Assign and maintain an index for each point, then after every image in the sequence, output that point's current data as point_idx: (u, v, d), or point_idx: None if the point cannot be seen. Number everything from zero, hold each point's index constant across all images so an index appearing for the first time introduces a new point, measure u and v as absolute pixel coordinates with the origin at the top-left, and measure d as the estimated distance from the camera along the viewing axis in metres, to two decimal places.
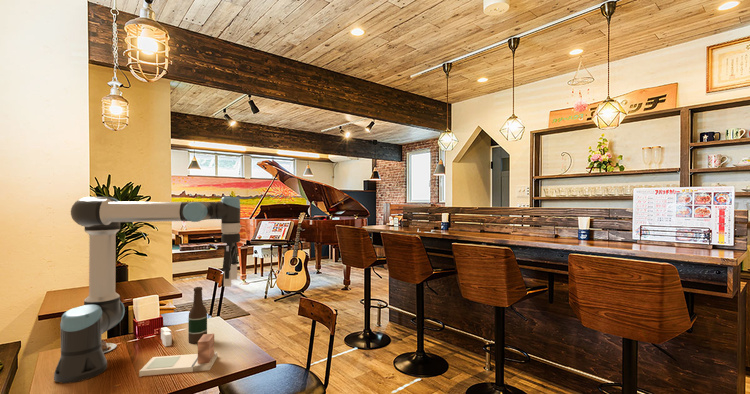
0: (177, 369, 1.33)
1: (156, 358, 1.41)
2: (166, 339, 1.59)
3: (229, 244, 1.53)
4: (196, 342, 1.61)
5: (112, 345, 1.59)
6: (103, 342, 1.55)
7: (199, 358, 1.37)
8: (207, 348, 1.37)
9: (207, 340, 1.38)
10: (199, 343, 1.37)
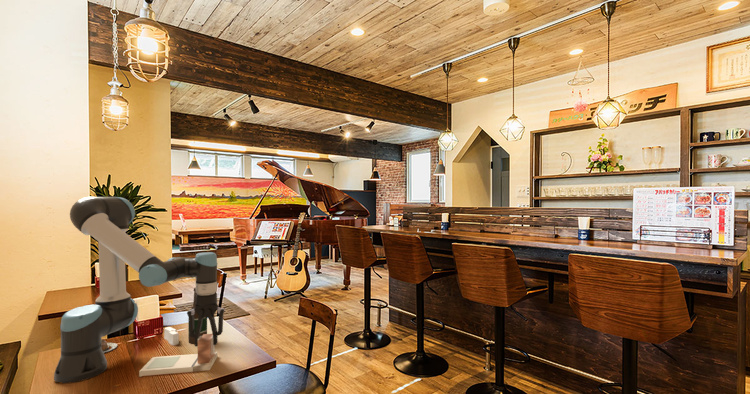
0: (177, 369, 1.33)
1: (156, 358, 1.41)
2: (173, 338, 1.60)
3: None
4: None
5: (113, 345, 1.59)
6: (104, 342, 1.55)
7: (199, 358, 1.37)
8: (207, 348, 1.37)
9: (207, 340, 1.38)
10: (199, 343, 1.37)
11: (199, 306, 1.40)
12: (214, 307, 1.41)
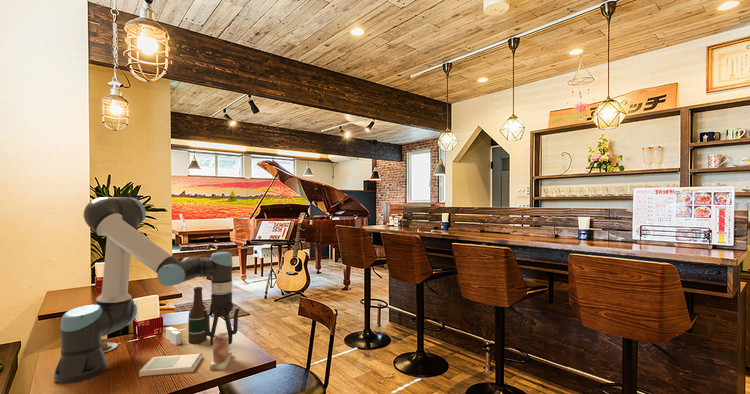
0: (177, 369, 1.33)
1: (156, 358, 1.41)
2: (176, 338, 1.60)
3: None
4: (196, 342, 1.61)
5: (113, 344, 1.59)
6: (104, 341, 1.55)
7: (215, 357, 1.38)
8: (223, 347, 1.38)
9: (222, 339, 1.39)
10: (215, 342, 1.38)
11: (214, 305, 1.41)
12: (229, 306, 1.42)
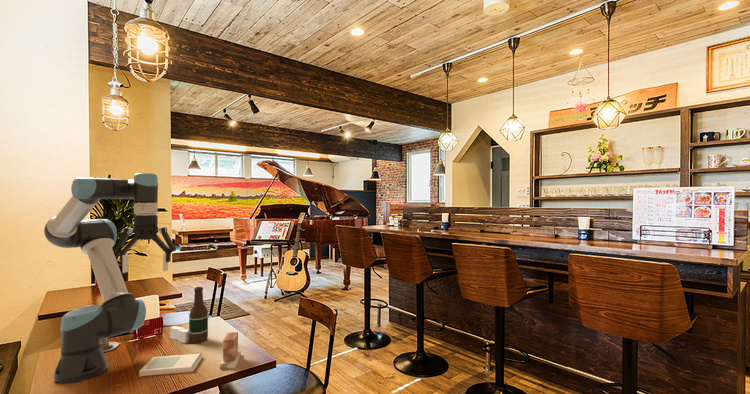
0: (177, 369, 1.33)
1: (156, 358, 1.41)
2: (186, 336, 1.62)
3: None
4: (196, 342, 1.61)
5: (114, 343, 1.60)
6: (105, 340, 1.56)
7: (224, 356, 1.38)
8: (232, 346, 1.39)
9: (232, 338, 1.40)
10: (224, 341, 1.38)
11: (139, 229, 1.35)
12: (153, 229, 1.36)
